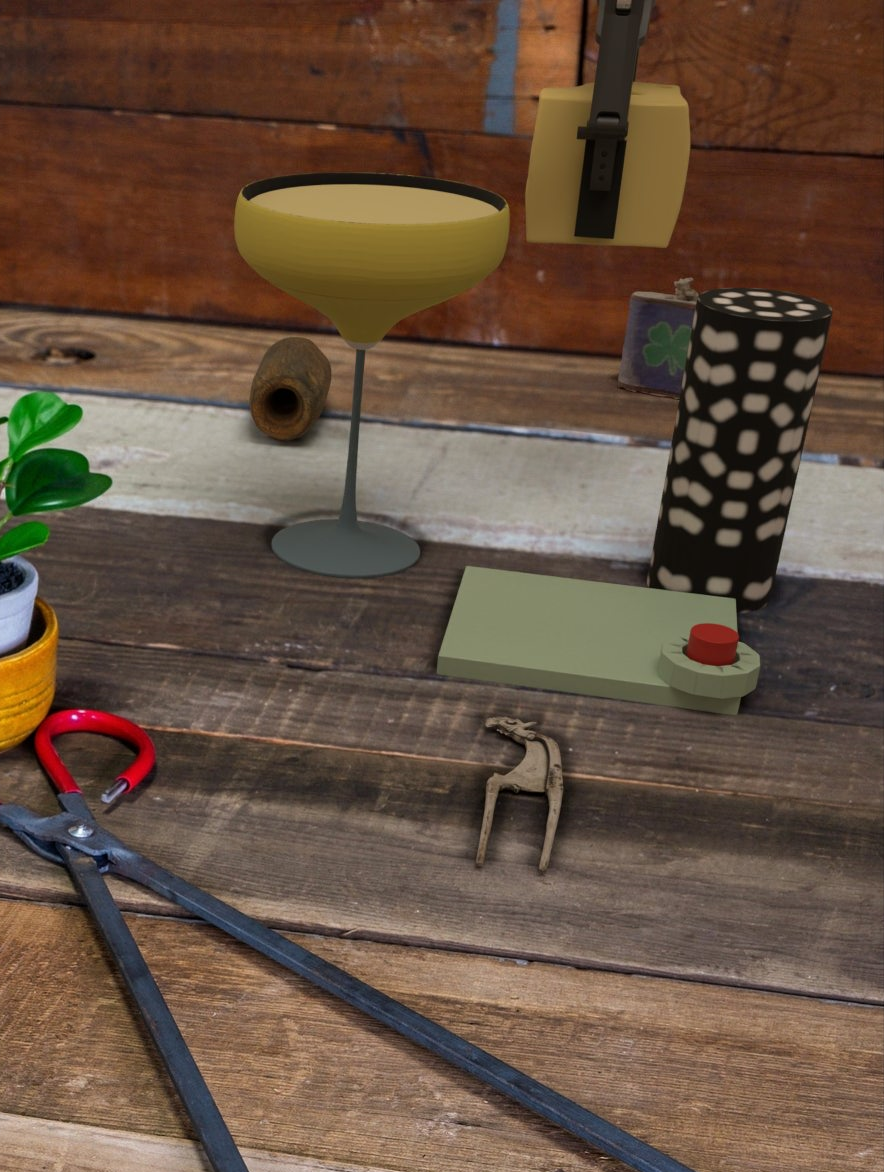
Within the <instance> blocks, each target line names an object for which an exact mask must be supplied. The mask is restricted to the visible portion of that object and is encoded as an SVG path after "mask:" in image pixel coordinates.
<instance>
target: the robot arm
mask: <svg viewBox="0 0 884 1172" xmlns="http://www.w3.org/2000/svg"><path fill="white" fill-rule="evenodd" d="M656 3H657V0H596V5H597V7H598V10H597V16H596V17H597V18H596V24H595V26H596V27H595V35H594V36H595V37H594V38H595V39H594V40H595V42H596V44H598V45H599V46H598V53H597V62H596V69H595V76H594V82H595V83H594V90H593V98H592V105H591V112H590V119H589V120H587V127H583V126H578V130H577V139H581V140H586V144H585V152H584V160H583V168H582V176H581V184H580V193H579V201H578V209H577V217H576V225H575V233H574V237H589V238H604V239H614V233H615V226H616V219H617V211H618V204H619V196H620V189H621V181H622V174H623V166H624V159H625V152H626V144H627V140H625V138H626V136H627V135H628V127H629V122H628V121H627V120H628V113H629V106H630V99H631V92H632V85H633V82H636V78H637V72H638V71H637V70H638V65H639V64H638V63H639V55H640V48H641V47H643V46H644V45H645V44H646V42H647V40H648V35H649V31H650V30H649V29H650V24H651V23H650V22H651V16H652V10H653V9H654V8H655V6H656Z"/></svg>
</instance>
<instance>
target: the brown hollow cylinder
mask: <svg viewBox="0 0 884 1172" xmlns="http://www.w3.org/2000/svg"><path fill="white" fill-rule="evenodd" d="M332 378H333V377H332V366H331V363H330V361H329V358H328V357H327V356H326V354H325V353H324V352H323V351H322V350H321V349H320V348H319V347H318V345H317V344H316V343H314V342H313V341H312V340H311V339H308V338H306V337H300V336H289V337H285V338H282V339H280V340H278V341H276V342H275V343H273V344H271V345H270V347H269V348H268V349H267V350H266V352H265V353H264V355H263V357H262V359H261V361H260V363H259V366H258V368H257V370H256V372H255V374H254V376H253V379H252V382H251V386H250V390H249V412H250V416H251V419H252V420H253V422H254V424H255V426H256V427H257V429H258V430H259V431H260V432H261V433H263V434H264V435H266V436H268V437H271V438H274V439H276V440H278V441H285V442H286V441H292V440H296V439H297V438H299V437H301V436H303V435H304V434H306V433H307V432H308V431H309V430H310V429H311V428H313V426H314V425H315V424H316V423H317V421H318V420H319V418H320V417H321V414H322V413H323V410H324V407H325V404H326V402H327V398H328V395H329V391H330V387H331V382H332Z"/></svg>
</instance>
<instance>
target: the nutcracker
mask: <svg viewBox="0 0 884 1172" xmlns="http://www.w3.org/2000/svg"><path fill="white" fill-rule="evenodd" d="M537 724H538V721H529V722H525V723H524V722H522V721H521V720H520V719H519V718H516V719H514V718H513V719H512V718H510V717H507V716H504V717H502V716H496V717H494V716H492V717H489V718H486V720H485V726H486V728H492V727H497V729H496V731H497V732H500V734H504V736H506V737H508V738H512V739H513V740H514V742H516V743H519V744H521V745H524V746H525V749H526V750H525V755H524V757H523V759H522V760H521V762H520V763H519V764H518V765H517V766H515V768H514V769H512V770H511V771H509V772H508V773H506V774H505V775H503V774H500V773H497V772H494V773H493V774H492V776H491V777H490V776H489V778H488V780H487V782H486V784H485V801H484V812H483V818H482V824H481V829H480V835H479V841H478V849H477V852H476V853H477V854H476V859H475V866H476V867H482V866H483V865H484V863H485V857H486V854H487V848H488V842H489V838H490V835H491V829H492V824H493V819H494V811H495V808H496V803H497V799H498V795H499V791H503V790H510V791H513V792H514V793H516V794H518V793H519V792H520V791H522V792H528V793H544V795H545V797H547V801H548V807H549V808H548V816H547V821H546V826H545V827H546V828H545V836H544V841H543V848H542V852H541V857H540V861H539V865H538V866H539V867H538V868H539V870H540V871H542V872H544V871H546V870H547V869H548V866H549V863H550V857H551V853H552V848H553V844H554V839H555V835H556V831H557V827H558V822H559V818H560V813H561V807H562V801H563V795H564V781H563V780H564V779H563V769H562V768H563V766H562V757H561V751H560V748H559V744H558V743H557V742H556V741H555V740H554V739H553V738H551V737H549V736H547V735H544V734H540V733H539V732H537V731H535V730H531V729H532V728H533V727H534V726H535V725H537Z"/></svg>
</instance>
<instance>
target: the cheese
mask: <svg viewBox="0 0 884 1172" xmlns="http://www.w3.org/2000/svg"><path fill="white" fill-rule="evenodd" d="M594 83H595V81H594V82H588V83H584V84H583V85H578V86H567V87H565V86H564V87H563V86H561V87H560V86H559V87H550V86H549V87H547V86H546V87H543V88H542V90H540V93H539V97H538V105H537V111H536V118H535V125H534V131H533V135H532V143H531V148H530V155H529V163H528V171H527V172H528V174H527V180H526V183H525V184H526V185H525V192H524V193H525V195H524V196H525V197H524V198H525V199H524V200H525V222H526V223H525V225H526V227H525V230H526V232H525V233H526V239H525V240H526V241H527V243H531V244H565V245H566V244H567V245H590V246H611V247H612V246H615V247H643V248H659V249H666V248H668V246H669V244H670V240H671V238H672V235H673V232H674V230H675V228H676V227H675V226H676V224H677V221H678V218H679V215H680V211H681V207H682V204H683V203H682V202H683V198H684V193H685V186H686V184H687V183H686V182H687V176H688V171H689V170H688V169H689V161H690V160H689V159H690V155H691V154H690V153H691V125H690V123H691V122H690V110H689V108H690V107H689V104H688V101H687V100H686V99H685V98H684V97H683V95H682V93H681V87H680V86H679V85H677V84H676V85H675V84H663V83H662V84H661V83H655V82H654V83H653V82H643V81H635V82H633V85H632V92H631V99H630V106H629V113H628V120H627V121H628V122H629V127H628V135H627V136H626V138H625V140H627V144H626V152H625V159H624V166H623V174H622V181H621V189H620V196H619V204H618V211H617V219H616V226H615V233H614V239H604V238H589V237H574V233H575V225H576V217H577V209H578V201H579V193H580V184H581V176H582V168H583V160H584V152H585V144H586V140H581V139H577V130H578V126H583V127H587V120H589V119H590V112H591V105H592V98H593V90H594Z"/></svg>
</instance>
